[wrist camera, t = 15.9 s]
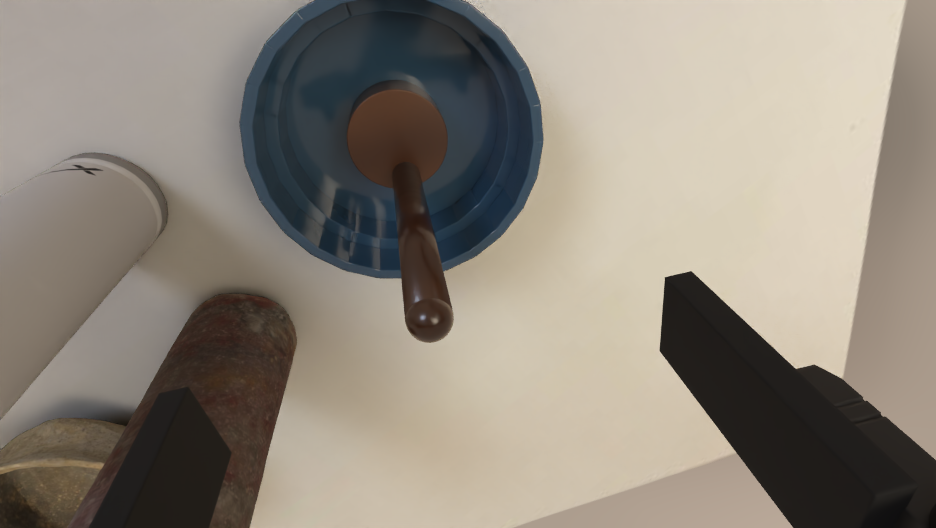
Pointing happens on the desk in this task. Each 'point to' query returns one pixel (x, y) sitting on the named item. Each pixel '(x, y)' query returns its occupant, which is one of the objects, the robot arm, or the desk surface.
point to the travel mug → (67, 255)
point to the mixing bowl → (328, 112)
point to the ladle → (406, 190)
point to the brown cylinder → (220, 396)
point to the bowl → (52, 470)
